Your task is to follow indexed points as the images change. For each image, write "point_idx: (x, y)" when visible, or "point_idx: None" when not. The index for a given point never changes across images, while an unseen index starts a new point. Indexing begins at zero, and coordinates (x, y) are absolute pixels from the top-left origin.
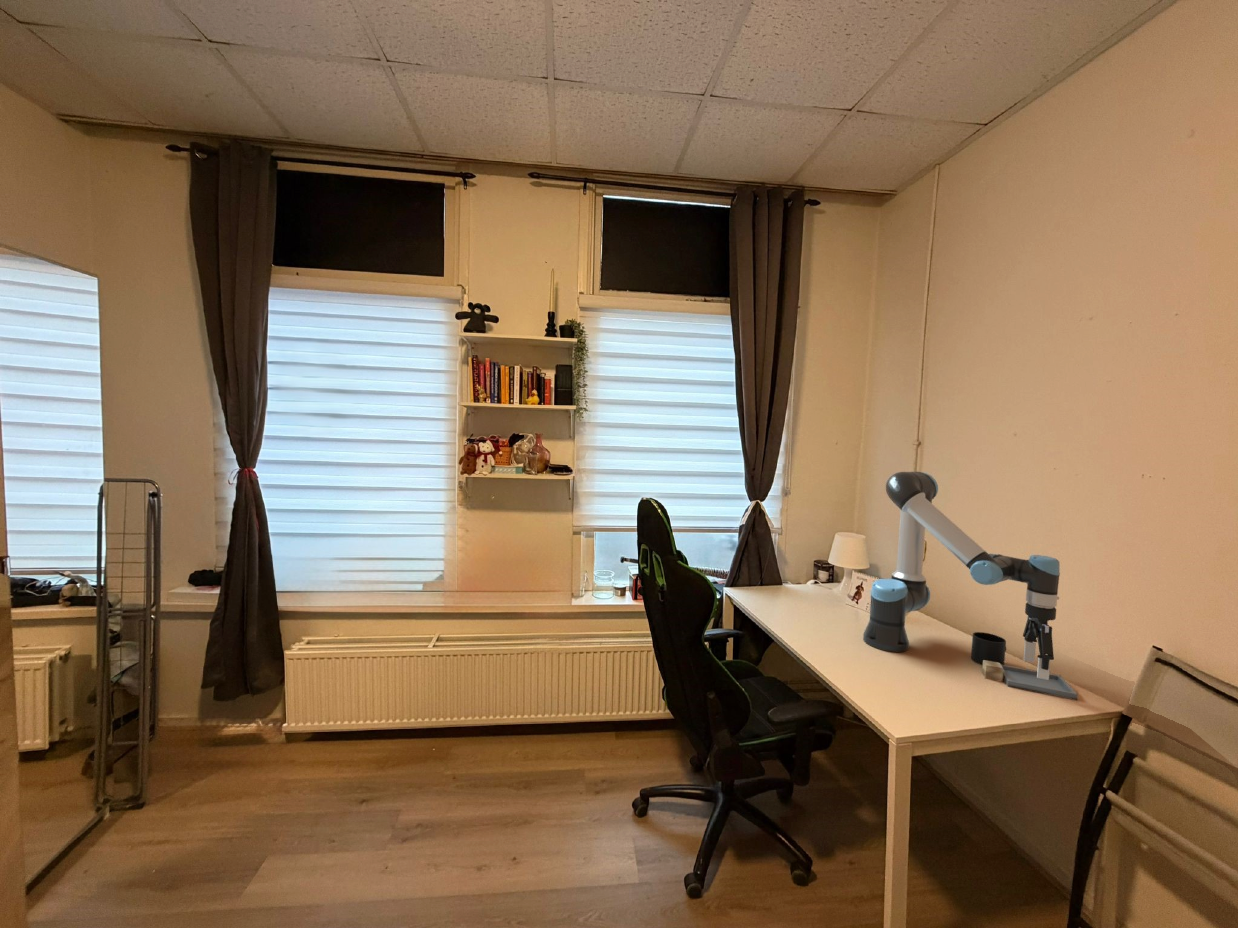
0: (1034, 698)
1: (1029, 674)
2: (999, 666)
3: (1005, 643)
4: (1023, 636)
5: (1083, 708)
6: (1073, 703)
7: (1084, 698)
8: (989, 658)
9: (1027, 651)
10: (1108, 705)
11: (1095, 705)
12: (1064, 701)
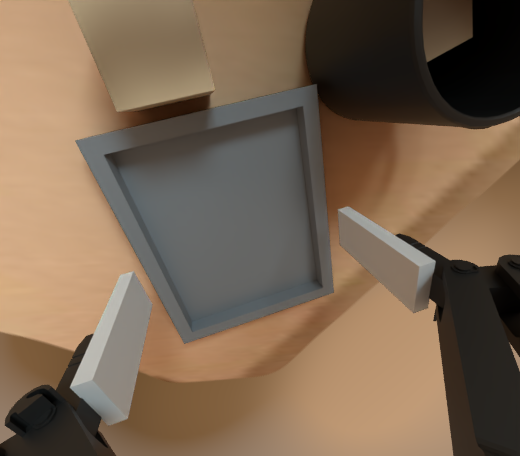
0: (46, 237)
1: (305, 211)
2: (131, 87)
3: (447, 124)
4: (505, 255)
5: None
6: None
7: (220, 335)
8: (325, 34)
9: (371, 243)
10: (216, 371)
11: (185, 357)
12: None
